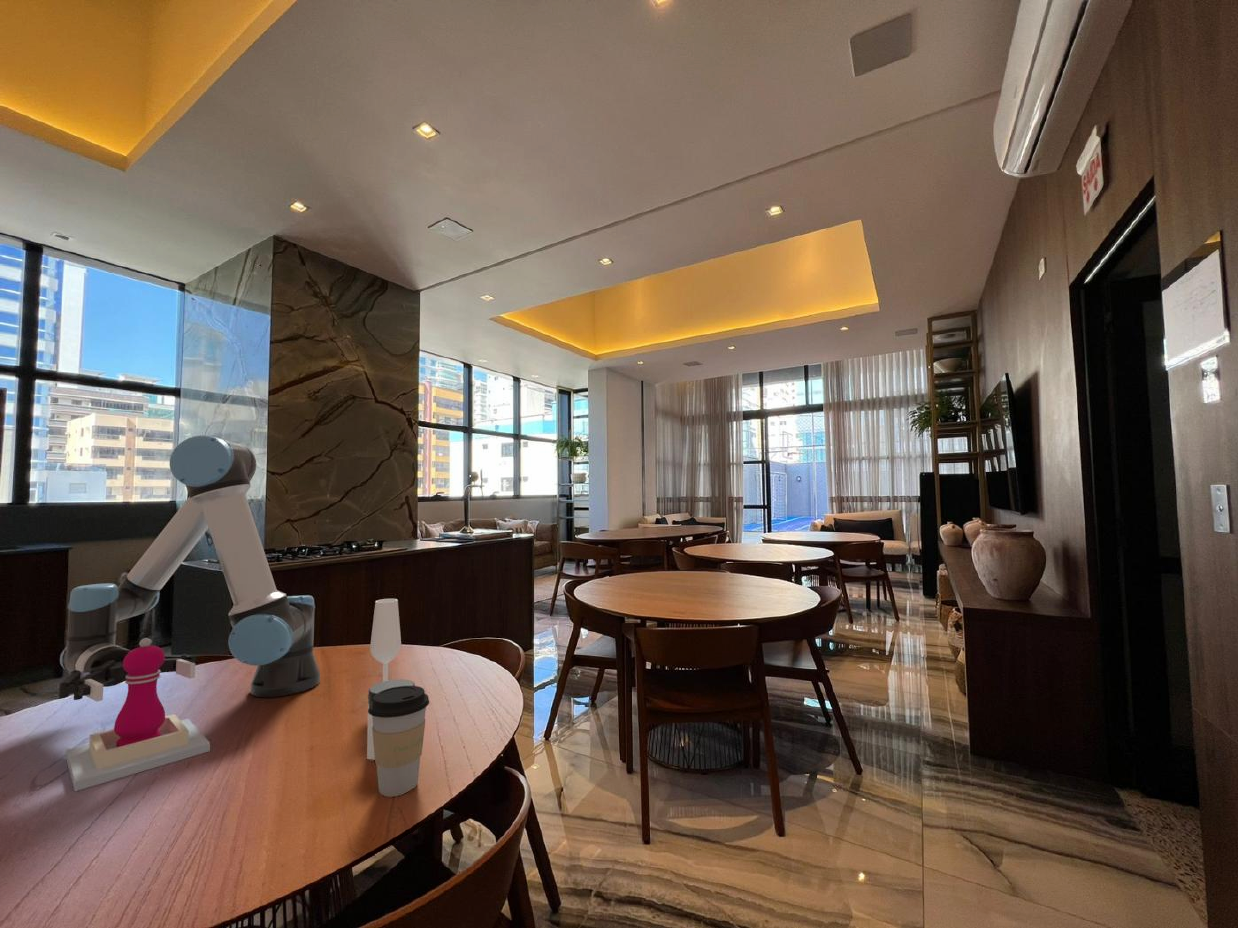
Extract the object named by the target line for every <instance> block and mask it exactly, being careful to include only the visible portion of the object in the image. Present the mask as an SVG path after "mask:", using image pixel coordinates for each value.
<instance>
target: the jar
mask: <svg viewBox="0 0 1238 928" xmlns="http://www.w3.org/2000/svg"><path fill="white" fill-rule="evenodd" d="M399 686H416V684H415V682H414V681H413V680H409V679H403V678H402V679H391V680H388V681H385V682H383V681H381V682H378V683H376V684H373V685H372V686H371V687H370V688H368V694H367V700H368V702H367V703H368V707H367V710H368V709H369V705H370V703H371V702H372V701H373V698H374V696H375V695H376V694H377V693H379V692H381V691H383V690H386V689H389V688H393V687H399ZM372 727H373V720H372V715H370V714H369V713H368V712H367V733H366V734H367V739H366V740H367V744H366V746H367V748H366V759H375V754H374V743H373V732H372Z"/></svg>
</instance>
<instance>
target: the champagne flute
mask: <svg viewBox="0 0 1238 928" xmlns="http://www.w3.org/2000/svg"><path fill="white" fill-rule="evenodd" d="M373 613H374V614H373V620H372V621H373V622H372V630H371V638H370V646H369V651H370V654H371V656H373V658H374V659H375V660H376V661H378V662H379V663H381V664H382V682H385V681H389V663H390V662H391V661H393V660H394V659H395V657H397V655H398V654H399V653H400V651H401V649H402V641H401V640H402V637H401V626H400V624H401V623H400V616H399V615H400V613H399V600H398V599H397V598H383V599H378V600H375V604H374V612H373Z"/></svg>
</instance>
